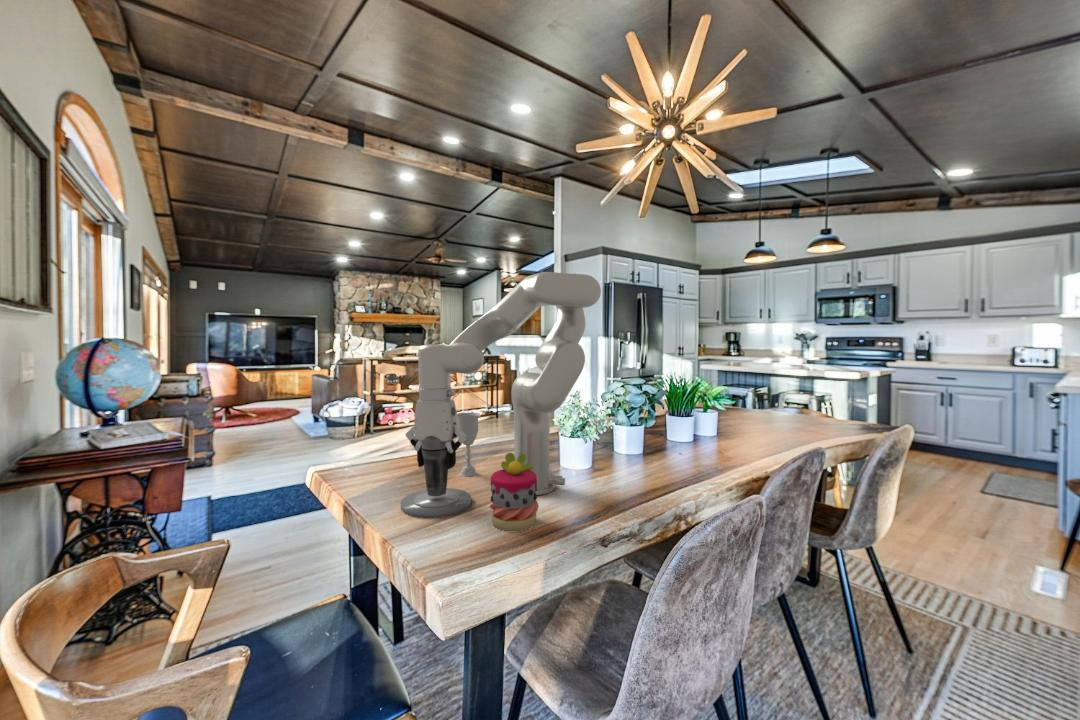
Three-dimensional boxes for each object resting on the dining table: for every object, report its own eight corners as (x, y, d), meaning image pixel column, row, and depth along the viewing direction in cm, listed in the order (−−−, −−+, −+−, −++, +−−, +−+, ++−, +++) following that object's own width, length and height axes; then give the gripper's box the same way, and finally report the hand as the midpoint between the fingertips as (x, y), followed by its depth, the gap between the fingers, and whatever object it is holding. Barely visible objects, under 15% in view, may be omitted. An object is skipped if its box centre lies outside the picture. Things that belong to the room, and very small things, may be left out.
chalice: (451, 475, 138) (451, 415, 137) (463, 469, 144) (463, 412, 143) (473, 478, 135) (472, 417, 134) (484, 471, 141) (484, 413, 140)
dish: (481, 495, 121) (481, 489, 121) (453, 521, 104) (453, 514, 104) (422, 490, 125) (422, 484, 125) (386, 514, 109) (386, 507, 108)
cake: (544, 528, 101) (544, 460, 100) (497, 535, 97) (496, 465, 96) (528, 510, 110) (528, 448, 109) (485, 517, 107) (484, 453, 106)
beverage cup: (455, 488, 118) (454, 410, 117) (446, 498, 111) (445, 416, 109) (427, 487, 119) (426, 410, 117) (417, 497, 111) (415, 415, 110)
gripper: (474, 393, 115) (475, 464, 116) (410, 392, 119) (412, 460, 120) (461, 398, 107) (463, 473, 109) (394, 396, 112) (396, 468, 113)
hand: (436, 465), depth 114 cm, fingers closed on beverage cup, 6 cm apart
